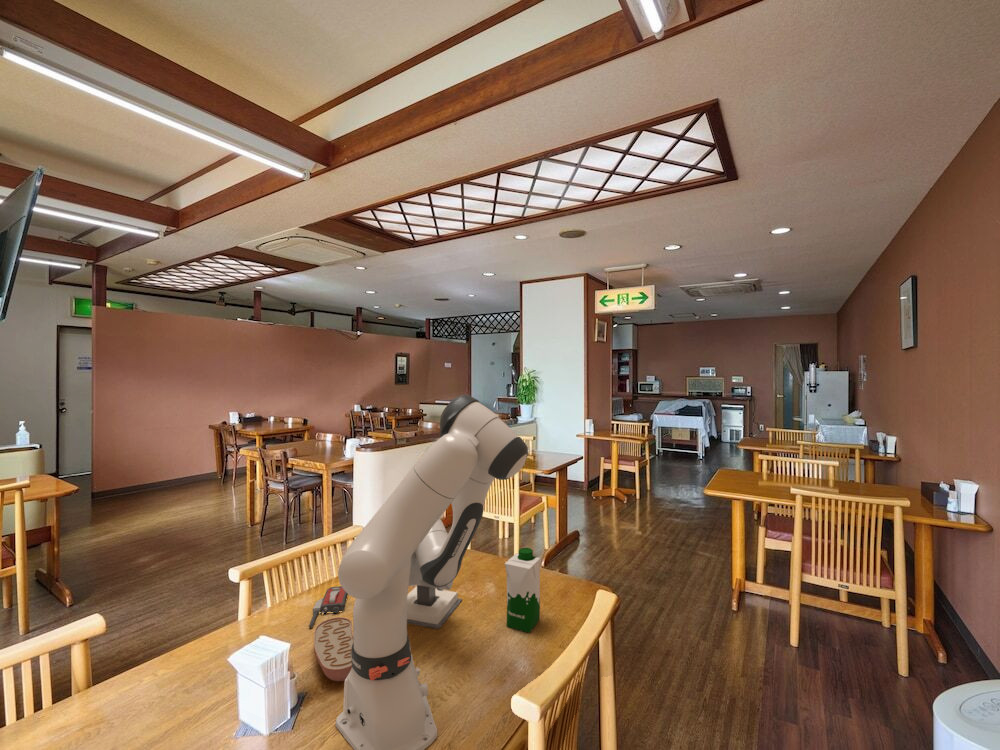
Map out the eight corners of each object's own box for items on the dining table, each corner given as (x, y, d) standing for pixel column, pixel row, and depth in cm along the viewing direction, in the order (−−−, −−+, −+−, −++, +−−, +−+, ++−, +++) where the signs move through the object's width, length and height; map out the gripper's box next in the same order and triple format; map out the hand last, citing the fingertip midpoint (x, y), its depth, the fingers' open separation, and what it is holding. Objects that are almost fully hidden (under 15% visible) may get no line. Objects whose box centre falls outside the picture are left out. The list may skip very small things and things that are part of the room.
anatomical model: (366, 682, 106) (366, 661, 106) (320, 697, 102) (320, 675, 102) (349, 631, 127) (348, 613, 126) (310, 642, 122) (309, 623, 122)
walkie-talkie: (320, 596, 147) (306, 631, 127) (320, 582, 147) (306, 616, 127) (349, 593, 149) (339, 628, 129) (349, 579, 148) (339, 612, 129)
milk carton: (543, 619, 132) (543, 550, 131) (530, 636, 124) (530, 562, 123) (516, 612, 136) (515, 544, 135) (501, 627, 128) (501, 556, 127)
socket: (461, 600, 142) (461, 591, 142) (439, 629, 127) (439, 618, 127) (415, 593, 147) (415, 583, 147) (388, 619, 132) (388, 609, 132)
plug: (435, 605, 138) (435, 572, 138) (429, 612, 135) (429, 578, 134) (423, 603, 140) (423, 570, 139) (417, 610, 136) (416, 576, 136)
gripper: (448, 560, 127) (462, 579, 136) (383, 551, 133) (401, 570, 143) (441, 584, 123) (456, 602, 132) (374, 573, 129) (393, 591, 139)
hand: (427, 585), depth 138 cm, fingers open, 8 cm apart
